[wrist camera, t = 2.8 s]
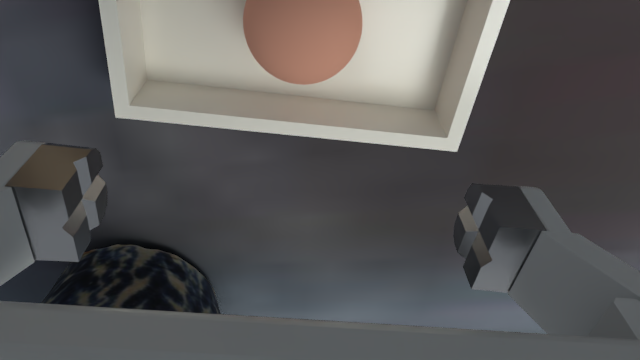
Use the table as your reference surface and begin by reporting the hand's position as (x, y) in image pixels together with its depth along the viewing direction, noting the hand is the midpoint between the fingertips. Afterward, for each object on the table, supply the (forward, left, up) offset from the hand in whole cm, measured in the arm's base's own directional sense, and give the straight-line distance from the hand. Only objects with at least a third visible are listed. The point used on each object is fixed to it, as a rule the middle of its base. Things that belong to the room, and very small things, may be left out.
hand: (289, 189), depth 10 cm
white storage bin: (0, 0, -15) cm, 15 cm away
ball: (0, 0, -11) cm, 11 cm away
